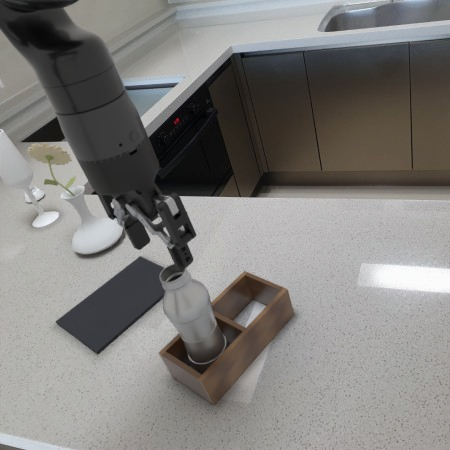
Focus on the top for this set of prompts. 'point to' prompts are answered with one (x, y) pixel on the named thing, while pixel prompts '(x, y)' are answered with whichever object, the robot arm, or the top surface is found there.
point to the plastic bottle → (192, 317)
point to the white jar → (36, 192)
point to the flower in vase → (78, 205)
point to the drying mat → (115, 305)
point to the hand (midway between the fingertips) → (163, 255)
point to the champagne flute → (20, 177)
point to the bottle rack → (233, 336)
